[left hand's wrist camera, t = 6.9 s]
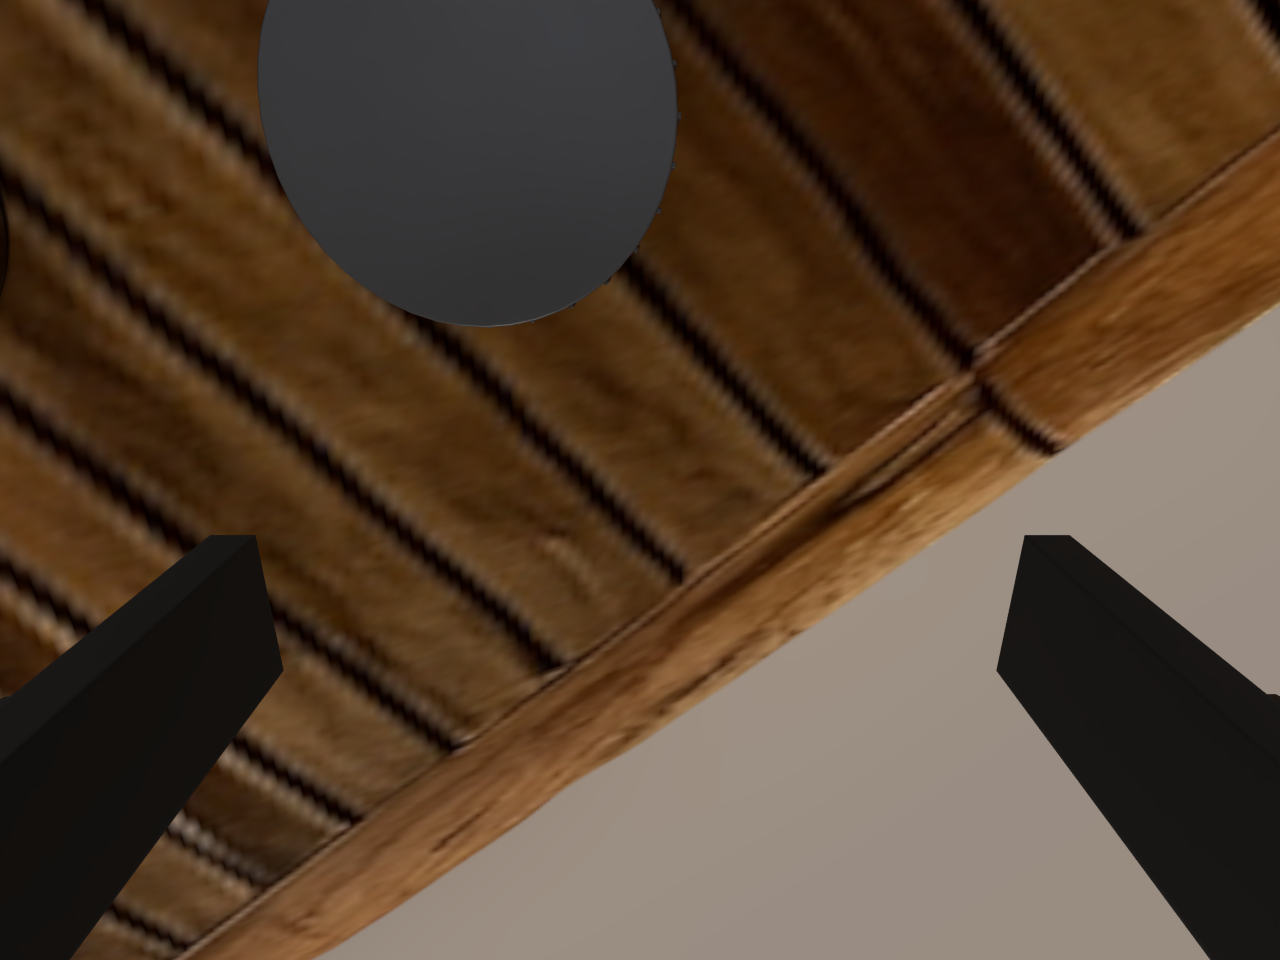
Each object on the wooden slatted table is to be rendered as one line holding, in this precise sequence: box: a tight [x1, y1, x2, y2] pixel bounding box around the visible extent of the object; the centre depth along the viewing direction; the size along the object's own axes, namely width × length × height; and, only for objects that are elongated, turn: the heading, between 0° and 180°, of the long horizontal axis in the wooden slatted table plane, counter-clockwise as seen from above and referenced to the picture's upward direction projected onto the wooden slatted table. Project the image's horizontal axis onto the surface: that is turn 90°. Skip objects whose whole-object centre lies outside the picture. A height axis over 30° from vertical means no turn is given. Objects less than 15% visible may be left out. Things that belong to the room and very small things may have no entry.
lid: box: [258, 0, 681, 328], centre depth 16 cm, size 9×9×2 cm
